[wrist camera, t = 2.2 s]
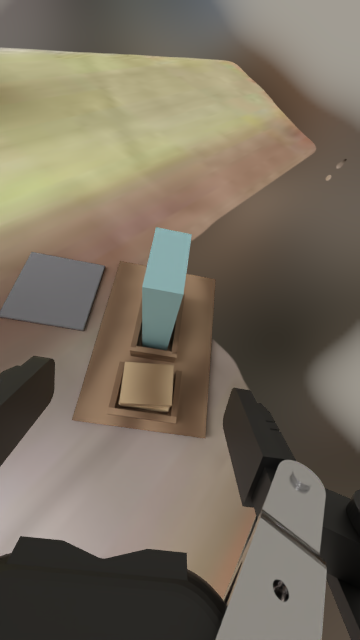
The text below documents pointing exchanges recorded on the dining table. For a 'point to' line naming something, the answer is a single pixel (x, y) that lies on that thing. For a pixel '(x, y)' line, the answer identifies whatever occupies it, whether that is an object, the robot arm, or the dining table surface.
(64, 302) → the mat
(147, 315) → the teal rectangular block
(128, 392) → the offcut top
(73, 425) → the dining table surface
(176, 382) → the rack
